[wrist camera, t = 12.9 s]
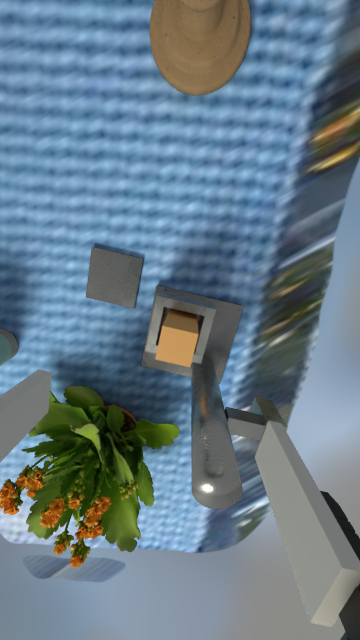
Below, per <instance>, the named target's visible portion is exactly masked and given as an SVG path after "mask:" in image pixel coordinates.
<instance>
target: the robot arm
mask: <svg viewBox="0 0 360 640" xmlns="http://www.w3.org/2000/svg"><path fill="white" fill-rule="evenodd" d="M51 373H52V372H48V371H43V370H37V371H36V372H34V373H33V374H32V375H30V376H29V377H27V378H26V379H24V380H23V381H22V382H20V383H19V384H17V385H16V386H14V387H13V388H12V389H10V390H9V391H7V392H6V393H4V394H3V395H2V396H0V462H1V461H2V460H3V459H4V458H5V457H6V456H7V455H8V454H9V453H10V451H11V450H12V449H13V448H14V447H15V446H16V445H17V444H18V443H19V442H20V441H21V440H22V439H23V438H24V437H25V436H26V435H27V434H28V433H29V432H30V431H31V429H32V428H33V427H34V426H35V425H36V424H37V423H38V422H39V421H40V420H41V419H42V418H43V417H44V416H45V415H46V414H47V413H48V410H49V397H50V385H51ZM255 459H256V462H257V465H258V468H259V471H260V474H261V477H262V480H263V483H264V486H265V489H266V492H267V495H268V498H269V501H270V504H271V507H272V510H273V513H274V516H275V519H276V522H277V525H278V528H279V531H280V534H281V537H282V540H283V543H284V546H285V549H286V552H287V555H288V558H289V561H290V564H291V567H292V570H293V573H294V576H295V579H296V582H297V586H298V589H299V592H300V595H301V598H302V600H303V604H304V607H305V610H306V612H307V616H308V619H309V622H310V623H315V624H319V625H324V626H328V627H332V626H333V625H334V623H335V621H336V620H337V618H338V617H340V619H341V622H342V624H343V626H344V629H345V631H346V632H345V633H344V635H343V637H342V638H341V640H360V538H359V537H358V535H357V534H355V530H354V529H353V527H352V525H351V524H350V522H348V519H347V517H346V515H345V514H344V512H343V511H342V509H341V507H340V506H339V504H338V503H337V502H336V501H335V500H334V499H333V498H332V497H331V496H330V495H329V493H328V492H323V491H320V490H319V489H318V487H317V485H316V483H315V482H314V480H313V478H312V476H311V475H310V473H309V471H308V469H307V468H306V466H305V464H304V463H303V461H302V459H301V457H300V455H299V454H298V452H297V450H296V448H295V446H294V445H293V443H292V441H291V439H290V438H289V436H288V434H287V432H286V431H285V429H284V427H283V425H282V424H281V423H278V422H273V421H268V424H267V427H266V429H265V432H264V435H263V437H262V440H261V442H260V445H259V448H258V450H257V453H256V456H255Z"/></svg>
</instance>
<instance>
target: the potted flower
mask: <svg viewBox="0 0 360 640" xmlns="http://www.w3.org/2000/svg"><path fill="white" fill-rule="evenodd" d="M64 396H65V398H67V400H66V402H67V403H68V404H65V403H60V402H59V401H58V400H57V399H56V398H55V396H54V395H53V393H52V392H51V391H50V397H49V410H48V413H47V414H46V415H45V416H44V417H43V418H42V419H41V420H40V421H39V422H38V423H37V424H36V425H35V426H34V427H33V429H31V431H30V432H29V436H31V437H33V436H36V435H40V434H45V433H46V437H47V438H50V439H53V441H48V442H41V443H39V445H38V446H35V447H33V448H28V449H23V450H22V451H25V452H27V453H29V452H35V451H36V452H35V455H36V456H35V457H41V456H43V455H46V454H47V455H46V456H44V457H43V458H41V459H40V460H39V461H37V462H36V463H35V464H34V465H33V466H31V468H30V467H29V465H27V467H25V469H24V470H22V472H21V473H20V474H19V475H20V476H19V478H17V479H18V480H17V481H16V482H15V483H13V482H11V480H10V479H7V481H5V482H6V483H4V484H3V487H2V489H1V491H0V495H1V496H0V500H1V502H0V509H2V508H4V512H3V513H5V514H6V513H9V514H10V515H14V514H16V513H17V512H19V509H18V508H17V507H18V505H19V506H21V504H22V503H23V501H22V500H21V499H20V498H21V497H20V494H21V491H22V490H24V488H25V487H26V490H28V489H29V490H28V492H27V496H29V497H31V499H32V500H33V501H36V500H38V501H37V502H35V503H34V504H33V505H32V506H31V507H30V511H32V513H30V514H29V516H28V518H27V520H26V524H29V528H28V532H32V531H33V533H34V534H35V535H36V536H37V537H38V538H42V537H43V538H45V540H47V539H48V538H49V537H50V536H51V535H52V534H53V532H56V531H57V530H58V527H59V524H60V527H63V526H64V525H65V523H66V522H67V525H66V528H65V531H64V532H63V533H62V534H60V535H58V536H57V539H56V540H57V541H56V542H55V543H54V545H55V550H54V554H55V553H56V554H57V555H59V554H62V553H63V551H65V550H66V548H67V547H69V546H70V542H71V540H74V537H73V536H72V535H68V534H67V533H69V531H67V528H68V525H69V522H70V519H71V516H72V514H73V517H74V519H75V520H76V521H77V522H79V523H78V524H77V525H76V526H75V527H77V526H79V529H78V532H76V533H75V536H76V537H77V539H79V541H78V542H77V543H76V544H73V545H72V546H71V550H72V551H71V554H72V553H73V555H72V556H71V561H70V563H69V564H70V565H71V564H72V567H76V568H77V567H78V566H80V564H81V563H82V564H83V562H84V560H85V559H86V558H87V554H89V550H90V547H87V546H85V544H84V541H83V539H84V538H85V539H88V538H91V537H92V539H94V538H96V537H97V536H100V535H102V536H105V534H106V537H105V539H106V540H107V541H108V542H109V543H110V544H114V543H115V542H116V541H117V547H119V549H120V551H125V550H126V551H128V552H132V551H133V550H134V549H135V548H136V545H137V541H136V540H134V538H136V537H137V538H138V540H139V538H140V537H141V534H140V530H139V528H138V527H137V518H138V514H139V510H140V504H139V502H138V496H139V498H140V500H141V501H143V502H144V504H145V505H146V506H147V505H149V506H152V505H153V502H154V495H153V493H154V489H153V487H152V484H153V482H152V478H151V474H150V472H149V470H148V467H147V466H146V465H145V463H144V462H143V449H142V446H143V445H144V446H145V444H147V445H148V446H149V447H151V448H152V449H155V446H156V447H157V449H158V448H159V449H161V448H162V444H164V445H166V446H168V445H172V444H173V439H174V438H176V437H178V434H179V431H180V430H179V428H178V427H177V426H176V425H174V424H166V423H159V424H156V423H153V422H150V421H147V420H145V419H141V420H139V422H137V421H136V419H135V418H134V416H133V415H132V414H131V413H130V412H128V411H127V410H126V409H124V408H121V407H119V406H117V405H114V404H112V405H107V406H105V404H104V402H103V400H102V398H101V397H100V395H99V394H98V393H97V392H95V390H93V389H92V388H88V387H87V386H85V387H83V386H69V387H67V388H66V389H65V393H64ZM141 444H142V445H141ZM51 455H52V456H53V458H52V457H51ZM35 457H34V458H35ZM46 457H49V459H50V461H51V462H50V461H45V463H44V468H42V469H40V468H38V466H36V465H37V464H38V463H39V462H41V461H42V460H43V459H45V458H46ZM54 457H57V458H54ZM52 463H53V464H54V465H53V466H52V468H50V469H48V467H49V466H50V465H51V464H52ZM34 466H36V467H35V468H34V469H32V468H33V467H34ZM51 470H52V471H51ZM49 471H50V472H49ZM47 472H48V473H47ZM46 473H47V474H46ZM15 486H16V489H15ZM81 507H82V508H81ZM80 508H81V509H80ZM79 509H80V512H79ZM82 516H84V518H83V520H82V521H79V520H80V517H82ZM93 526H94V528H92V527H93ZM81 539H82V540H81ZM79 545H80V546H79ZM77 552H78V553H77ZM80 558H81V559H80Z"/></svg>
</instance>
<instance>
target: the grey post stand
mask: <svg viewBox="0 0 360 640" xmlns="http://www.w3.org/2000/svg"><path fill="white" fill-rule="evenodd" d="M243 307H244V306H243V305H240V304H236V303H231V302H227V301H223V300H219V299H214V298H210V297H206V296H202V295H197V294H193V293H189V292H184V291H180V290H176V289H172V288H167V287H163V286H159V285H157V287H156V292H155V297H154V302H153V307H152V312H151V317H150V322H149V327H148V332H147V337H146V342H145V347H144V352H143V357H142V362H141V366H144V367H149V368H153V369H157V370H162V371H166V372H170V373H175V374H179V375H183V376H188V377H191V428H192V494H193V496H194V498H195V499H196V500H197V502H199V503H200V504H201V505H203V506H205V507H208V508H212V509H224V508H227V507H230V506H232V505H234V504H235V503H236V502H237V501H238V500H239V499H240V497H241V495H242V491H243V489H242V483H241V479H240V475H239V470H238V466H237V462H236V457H235V453H234V449H233V444H232V440H231V436H230V434H234V435H238V436H242V437H247V438H251V439H256V440H257V441H258V444H260V442H261V440H262V437H263V435H264V432H265V429H266V427H267V424H268V421H273V422H278V423H281V424H282V425H283V427H284V429H285V431H286V430H287V428H288V427H287V425H286V424H285V422H284V420H283V419H282V417H281V415H280V414H279V412H278V410H277V409H276V407H275V405H274V403H273V402H272V401H270V400H266V399H261V398H257V397H254V400H253V403H252V406H251V409H250V411H249V412H247V411H242V410H238V409H234V408H229V407H226V408H225V410H224V405H223V401H222V397H221V392H220V388H219V384H220V382H221V379H222V376H223V372H224V369H225V366H226V362H227V359H228V356H229V353H230V349H231V346H232V343H233V340H234V336H235V333H236V330H237V326H238V323H239V320H240V317H241V313H242V310H243ZM170 308H172V309H177V310H181V311H185V312H189V313H194V314H196V315H197V324H198V333H199V335H198V339H197V343H196V346H195V350H194V354H193V358H192V362H191V365H190V367H186V366H182V365H178V364H173V363H169V362H165V361H160V360H156V359H155V358H156V353H157V349H158V344H159V339H160V335H161V330H162V326H163V324H164V321H165V319H166V317H167V315H168V313H169V310H170Z"/></svg>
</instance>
